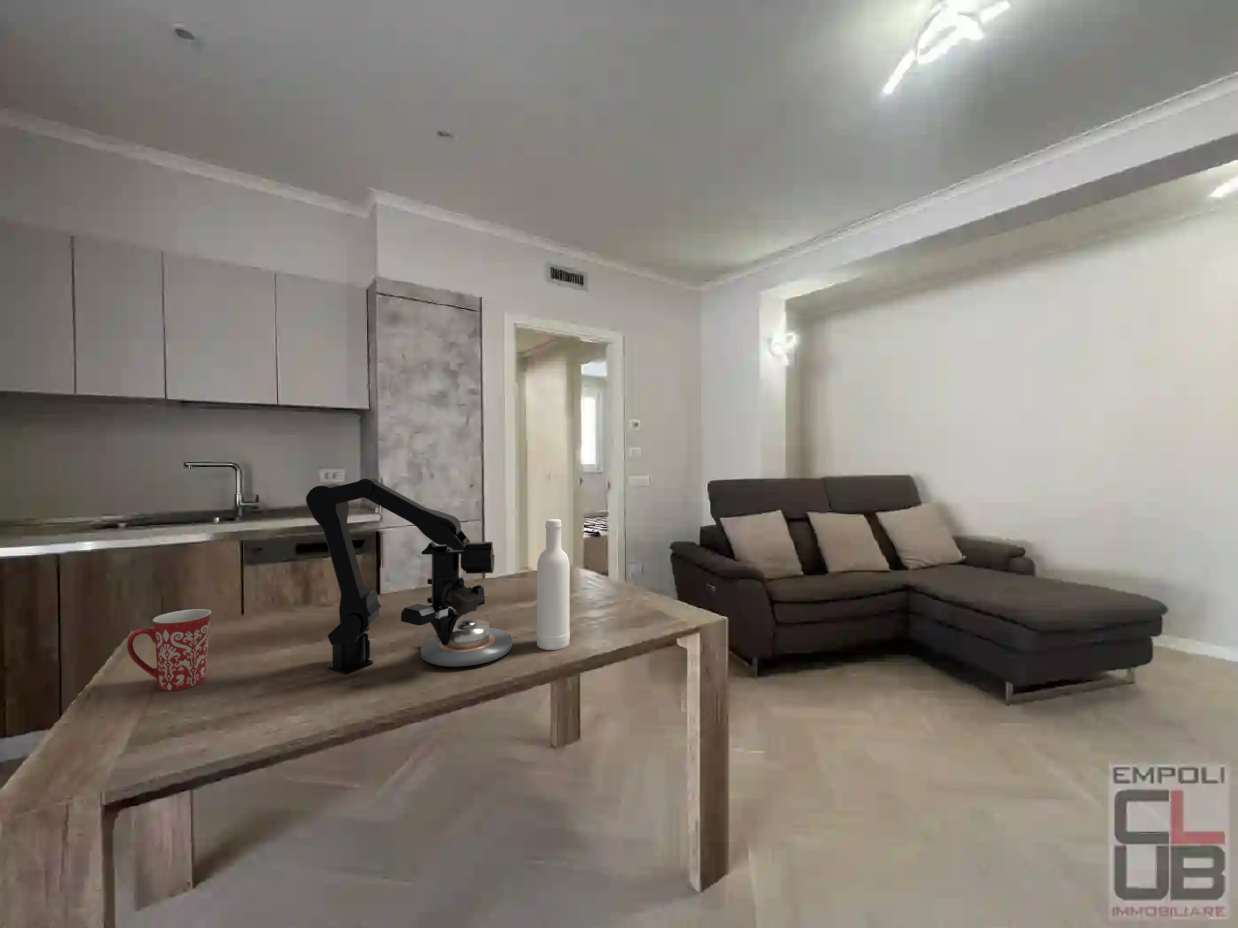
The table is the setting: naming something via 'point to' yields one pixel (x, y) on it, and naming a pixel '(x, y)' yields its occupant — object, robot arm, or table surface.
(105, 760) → the table surface
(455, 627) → the cover
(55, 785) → the table surface
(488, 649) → the turntable
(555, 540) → the bottle
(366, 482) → the robot arm
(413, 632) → the table surface
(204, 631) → the mug
